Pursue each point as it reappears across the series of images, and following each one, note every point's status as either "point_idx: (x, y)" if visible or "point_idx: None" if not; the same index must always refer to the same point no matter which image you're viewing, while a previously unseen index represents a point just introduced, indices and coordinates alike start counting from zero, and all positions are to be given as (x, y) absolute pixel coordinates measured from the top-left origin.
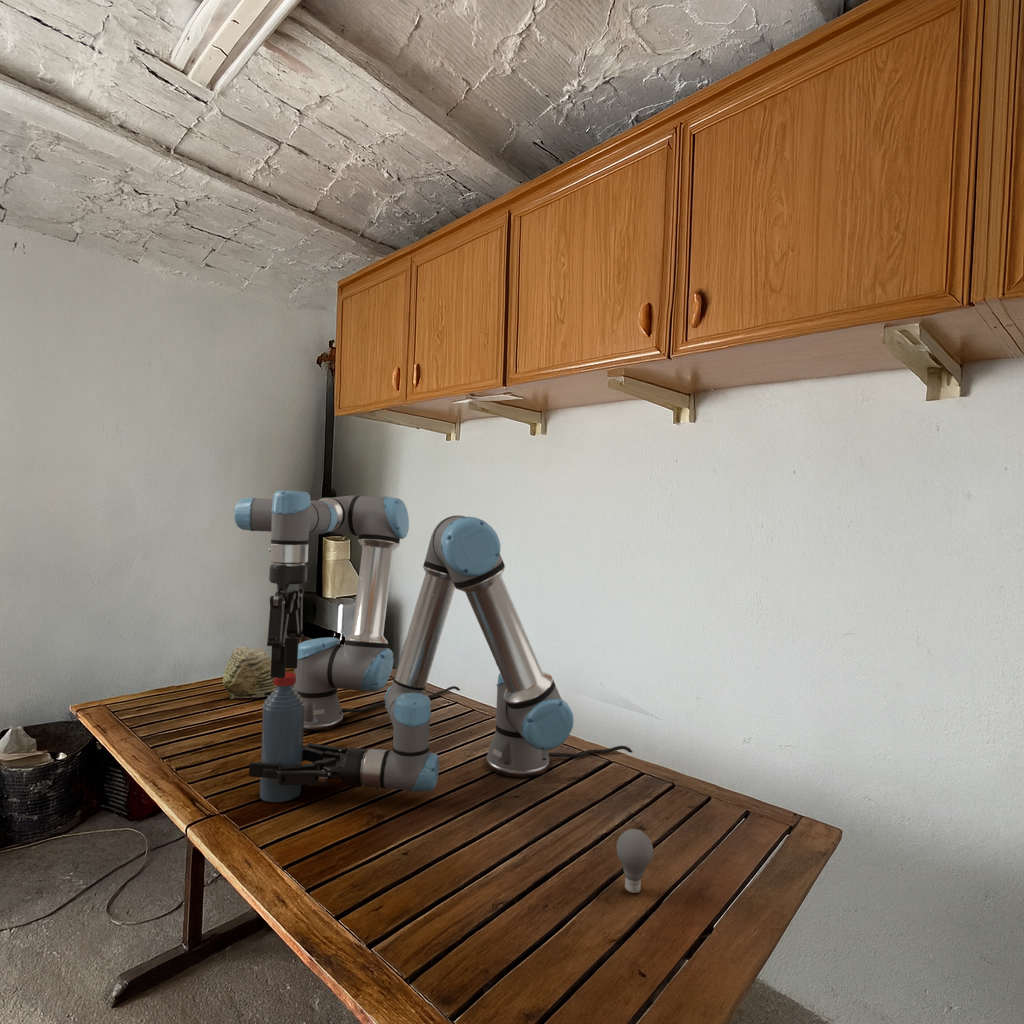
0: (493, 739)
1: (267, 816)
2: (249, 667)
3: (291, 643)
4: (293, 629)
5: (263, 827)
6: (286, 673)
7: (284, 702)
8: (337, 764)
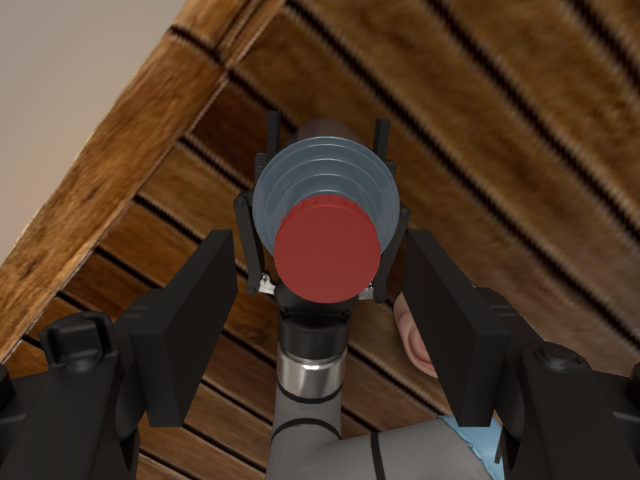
0: None
1: (232, 168)
2: None
3: (450, 355)
4: (517, 476)
5: (195, 176)
6: (353, 255)
7: (270, 239)
8: (297, 301)
